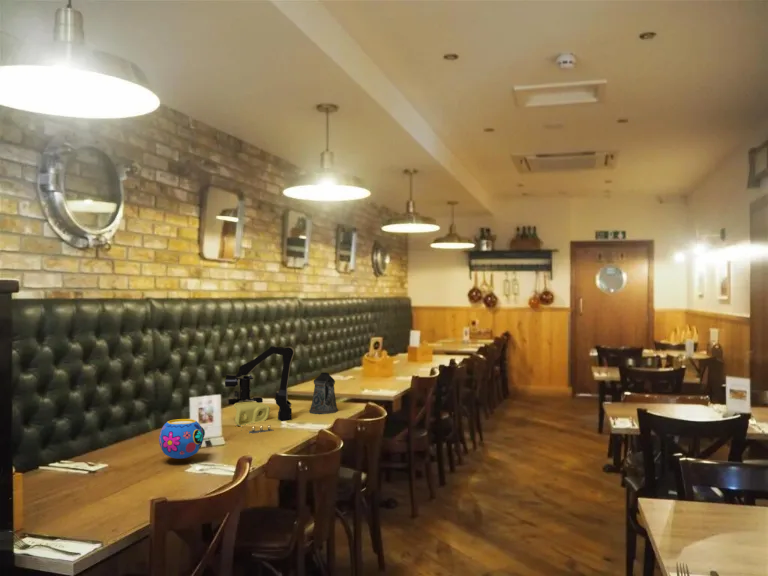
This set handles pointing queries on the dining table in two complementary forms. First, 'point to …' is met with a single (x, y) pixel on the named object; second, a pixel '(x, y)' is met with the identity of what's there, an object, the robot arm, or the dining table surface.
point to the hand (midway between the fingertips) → (244, 416)
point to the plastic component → (250, 412)
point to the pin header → (260, 429)
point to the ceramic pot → (181, 438)
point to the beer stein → (324, 395)
